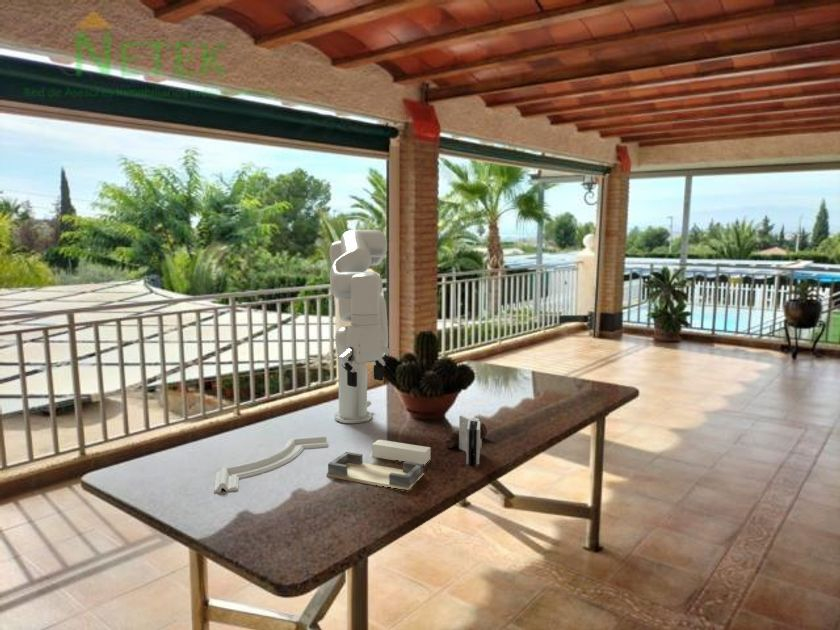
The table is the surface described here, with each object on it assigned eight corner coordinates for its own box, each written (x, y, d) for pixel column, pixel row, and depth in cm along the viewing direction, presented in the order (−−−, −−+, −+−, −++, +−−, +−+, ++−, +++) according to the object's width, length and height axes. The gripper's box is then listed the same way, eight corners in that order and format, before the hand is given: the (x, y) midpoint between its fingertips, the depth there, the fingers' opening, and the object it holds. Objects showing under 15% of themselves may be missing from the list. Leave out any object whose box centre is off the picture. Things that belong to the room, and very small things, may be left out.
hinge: (458, 448, 174) (459, 415, 173) (476, 448, 174) (477, 414, 173) (466, 466, 160) (467, 430, 159) (486, 466, 161) (487, 430, 159)
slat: (378, 452, 170) (378, 439, 170) (430, 461, 164) (430, 447, 164) (372, 457, 167) (372, 443, 166) (424, 466, 161) (425, 452, 160)
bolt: (446, 454, 174) (478, 440, 184) (457, 450, 170) (490, 436, 181) (439, 436, 175) (471, 423, 186) (450, 431, 172) (482, 418, 182)
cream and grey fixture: (345, 462, 162) (345, 451, 161) (423, 476, 153) (424, 463, 153) (326, 476, 153) (326, 464, 152) (408, 491, 144) (408, 478, 144)
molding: (225, 499, 141) (225, 487, 140) (191, 487, 147) (190, 476, 146) (335, 445, 177) (335, 435, 177) (304, 437, 183) (304, 428, 183)
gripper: (378, 316, 168) (378, 375, 170) (330, 322, 155) (331, 386, 157) (397, 318, 163) (397, 379, 165) (350, 324, 150) (350, 391, 152)
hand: (365, 382), depth 161 cm, fingers open, 9 cm apart
